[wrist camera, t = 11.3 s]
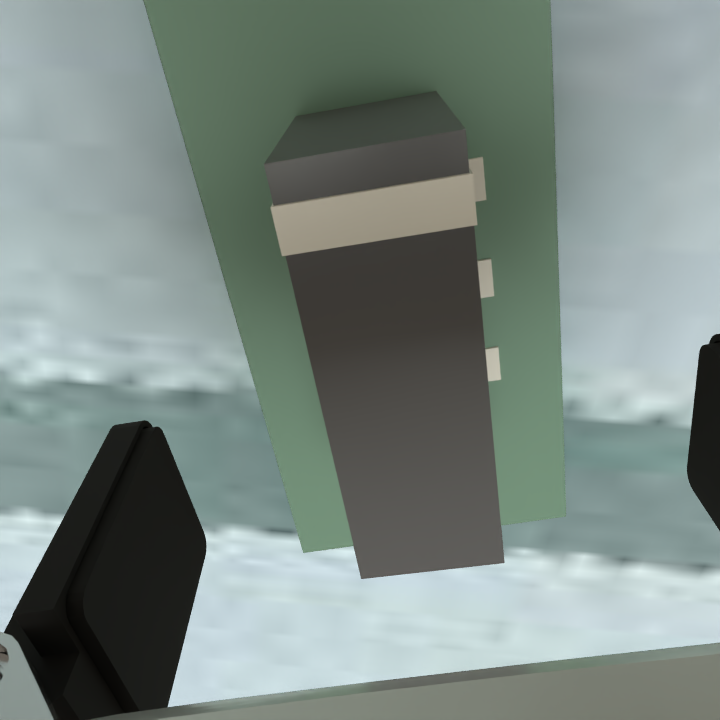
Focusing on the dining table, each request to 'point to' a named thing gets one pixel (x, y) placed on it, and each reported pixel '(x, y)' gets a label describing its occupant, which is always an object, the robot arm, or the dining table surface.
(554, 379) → the header board
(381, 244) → the block
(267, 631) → the dining table surface
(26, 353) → the dining table surface
